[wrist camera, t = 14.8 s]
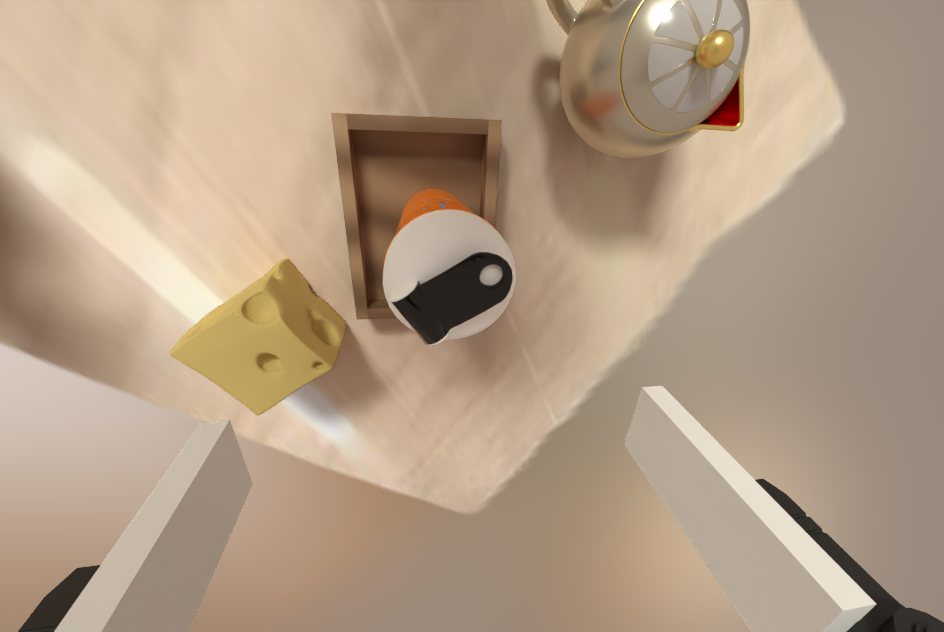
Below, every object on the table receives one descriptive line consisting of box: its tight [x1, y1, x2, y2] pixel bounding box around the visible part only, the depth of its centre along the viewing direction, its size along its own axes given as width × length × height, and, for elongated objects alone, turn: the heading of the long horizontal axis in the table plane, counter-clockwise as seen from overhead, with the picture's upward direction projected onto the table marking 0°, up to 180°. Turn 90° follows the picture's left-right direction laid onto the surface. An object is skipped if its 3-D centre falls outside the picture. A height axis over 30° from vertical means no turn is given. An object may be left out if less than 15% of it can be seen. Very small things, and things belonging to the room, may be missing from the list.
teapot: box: [546, 0, 750, 158], centre depth 29 cm, size 18×14×16 cm
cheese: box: [170, 259, 346, 415], centre depth 38 cm, size 10×11×10 cm
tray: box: [331, 113, 502, 319], centre depth 38 cm, size 20×15×4 cm
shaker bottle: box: [383, 189, 516, 346], centre depth 30 cm, size 9×9×20 cm
